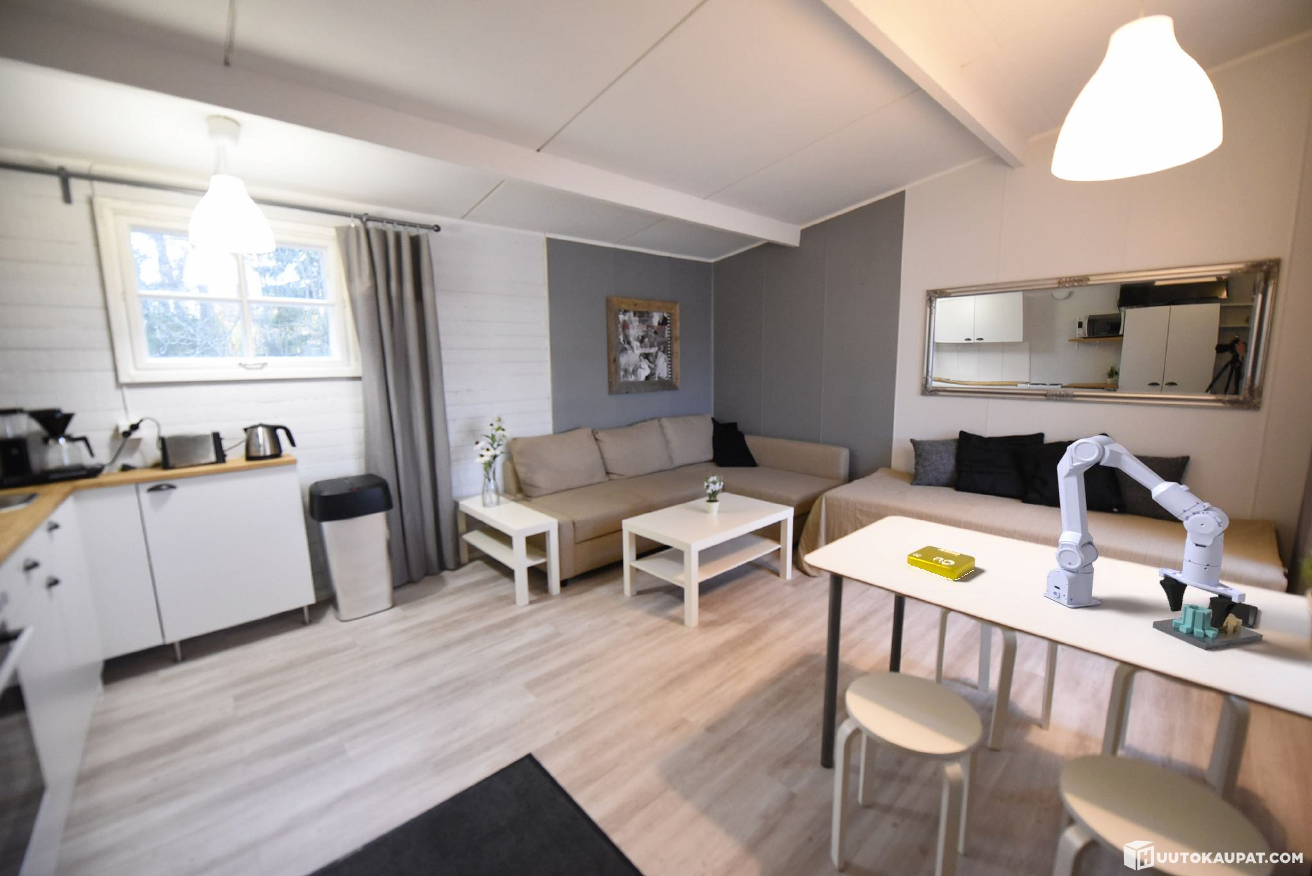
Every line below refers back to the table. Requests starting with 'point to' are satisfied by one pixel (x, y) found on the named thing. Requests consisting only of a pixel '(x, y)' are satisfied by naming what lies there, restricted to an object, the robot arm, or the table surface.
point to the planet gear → (1196, 621)
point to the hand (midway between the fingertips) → (1195, 618)
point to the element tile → (942, 562)
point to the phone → (1244, 614)
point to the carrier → (1226, 635)
